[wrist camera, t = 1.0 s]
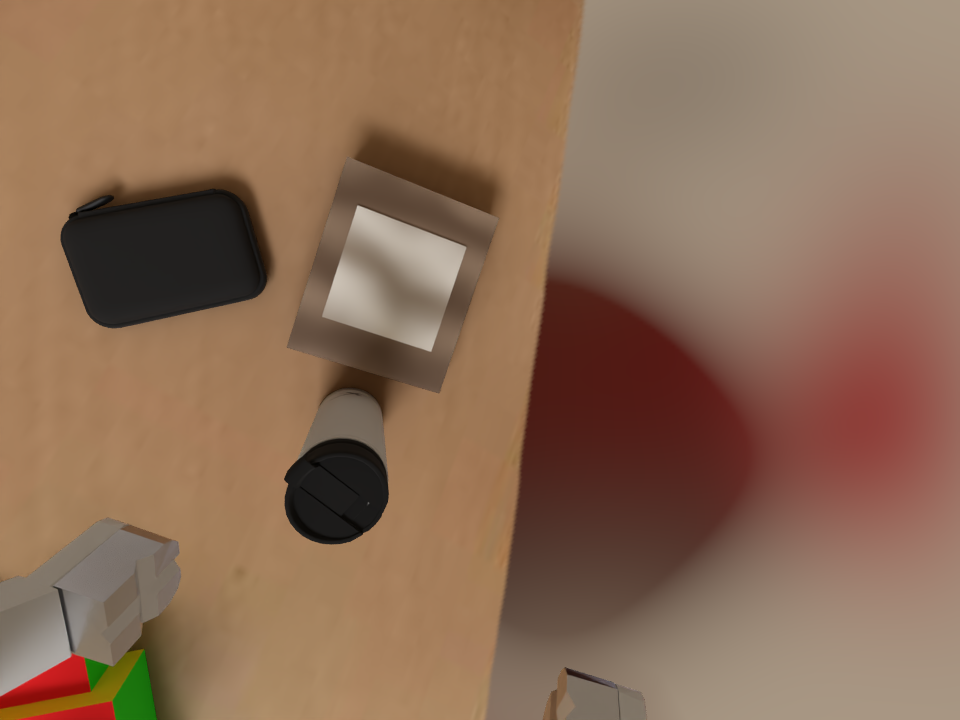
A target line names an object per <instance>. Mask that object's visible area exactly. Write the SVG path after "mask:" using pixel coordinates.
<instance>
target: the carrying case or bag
mask: <svg viewBox="0 0 960 720" xmlns="http://www.w3.org/2000/svg"><path fill="white" fill-rule="evenodd" d="M113 199H114V197H113V196H112V195H107V196H103V197H100V198H98V199H96V200H93V201H91V202H89V203H87V204H85V205H83V206H81V207H79V208H77V209H76V212H74V213H71V214H70V215H69V217H68V218H69V220H68V221H67V222H66V223H65V225H64V226H63V228H62V231H61V244H62V247H63V249H64V252H65V255H66V258H67V260H68V263H69V266H70V268H71V271H72V274H73V277H74V279H75V282H76V285H77V287H78V290H79V293H80V295H81V298H82V301H83V304H84V306H85V309H86V312H87V314H88V315H89V316H90V318H91V319H92V320H93V321H95V322H96V323H98V324H99V325H102V326H104V327H108V328H122V327H126V326H131V325H136V324H140V323H145V322H150V321H154V320H159V319H163V318H168V317H172V316H177V315H181V314H186V313H190V312H195V311H200V310H204V309H209V308H214V307H218V306H223V305H227V304H232V303H237V302H241V301H246V300H250V299H252V298H255V297H257V296H258V295H259V294H261V293H262V291H263V290H264V288H265V286H266V283H267V273H266V270H265V267H264V263H263V260H262V256H261V253H260V250H259V246H258V243H257V239H256V236H255V233H254V229H253V226H252V223H251V219H250V216H249V212H248V209H247V207H246V205H245V204H244V202H243V201H242V200H241V199H240V198H239V197H238V196H236V195H235V194H233V193H231V192H228V191H225V190H216V189H210V190H206V191H200V192H194V193H188V194H183V195H177V196H171V197H165V198H160V199H154V200H148V201H142V202H137V203H131V204H125V205H119V206H114V207H108V208H102V209H96V208H98V207H101V206H103V205H105V204H107V203H109V202H111V201H112V200H113ZM94 209H96V210H94Z"/></svg>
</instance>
